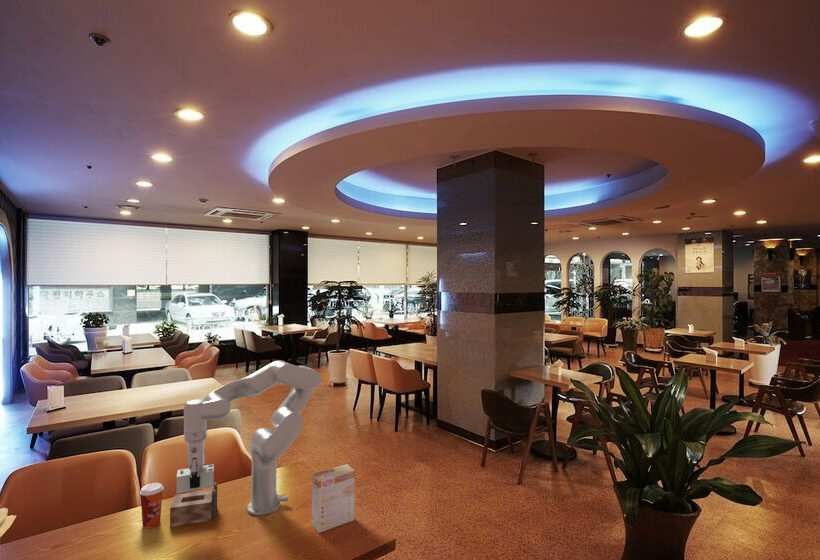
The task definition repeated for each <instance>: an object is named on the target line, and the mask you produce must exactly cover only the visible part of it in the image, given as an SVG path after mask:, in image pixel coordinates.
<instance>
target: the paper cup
mask: <svg viewBox="0 0 820 560" xmlns="http://www.w3.org/2000/svg"><path fill="white" fill-rule="evenodd" d="M163 490H164V485H162V483H161V482H151V483H148V484H145V485H144V486H142V487H141V489H140V491H139V494H140V503H141V507H140V508H141V520H142V522H141V523H142V527H143V529H152V528H154V527H157V526H159V524H160V523H161V517H162V515H161V514H162V504H163V503H162V502H163Z"/></svg>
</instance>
